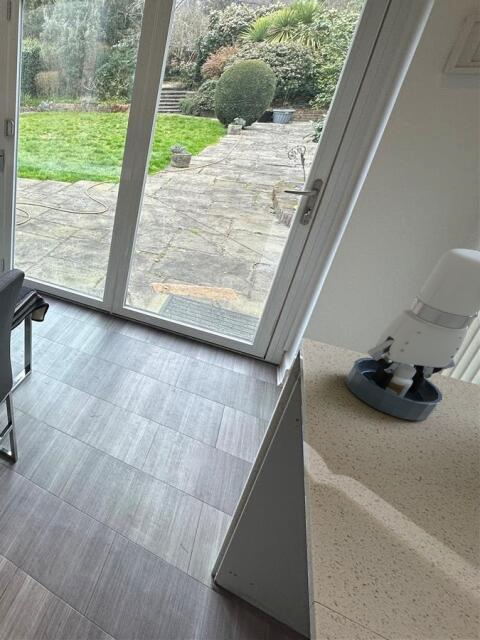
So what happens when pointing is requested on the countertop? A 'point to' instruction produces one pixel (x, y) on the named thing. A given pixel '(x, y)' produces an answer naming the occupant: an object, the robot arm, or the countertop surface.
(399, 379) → the pill bottle
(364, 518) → the countertop surface
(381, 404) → the bowl
